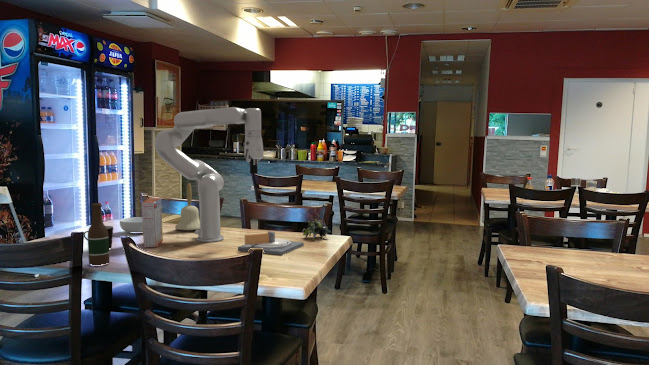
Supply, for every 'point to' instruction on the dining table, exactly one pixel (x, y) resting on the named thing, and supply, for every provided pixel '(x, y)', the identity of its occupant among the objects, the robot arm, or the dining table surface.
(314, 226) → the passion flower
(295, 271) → the dining table surface
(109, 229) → the coffee mug
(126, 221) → the cereal bowl
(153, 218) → the cracker box
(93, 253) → the beer bottle
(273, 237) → the dial
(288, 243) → the dial base
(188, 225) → the handbell
